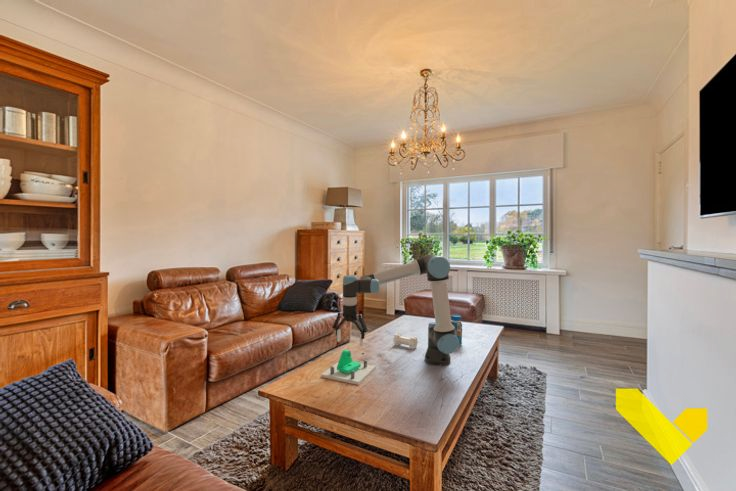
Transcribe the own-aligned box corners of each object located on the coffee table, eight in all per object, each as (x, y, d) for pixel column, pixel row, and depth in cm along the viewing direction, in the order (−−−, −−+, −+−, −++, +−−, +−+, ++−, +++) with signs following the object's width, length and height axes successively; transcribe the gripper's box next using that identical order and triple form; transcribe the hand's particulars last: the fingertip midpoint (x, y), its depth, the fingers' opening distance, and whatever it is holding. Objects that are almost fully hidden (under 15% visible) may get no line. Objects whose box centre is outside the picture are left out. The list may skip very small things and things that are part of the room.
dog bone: (418, 348, 227) (418, 335, 227) (412, 350, 220) (413, 338, 220) (398, 343, 235) (399, 332, 235) (392, 346, 228) (392, 333, 228)
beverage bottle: (448, 345, 231) (449, 316, 230) (450, 341, 239) (450, 313, 238) (461, 347, 228) (462, 317, 227) (462, 343, 236) (463, 314, 235)
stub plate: (375, 368, 190) (375, 360, 190) (358, 384, 170) (359, 375, 170) (340, 362, 199) (341, 353, 199) (321, 376, 179) (321, 367, 179)
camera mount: (348, 375, 178) (348, 356, 177) (336, 371, 182) (336, 353, 181) (361, 368, 187) (361, 349, 187) (350, 364, 192) (350, 346, 191)
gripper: (373, 304, 181) (373, 344, 182) (333, 301, 191) (333, 338, 192) (368, 307, 175) (368, 348, 175) (326, 303, 185) (326, 342, 185)
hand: (349, 343), depth 184 cm, fingers open, 13 cm apart
